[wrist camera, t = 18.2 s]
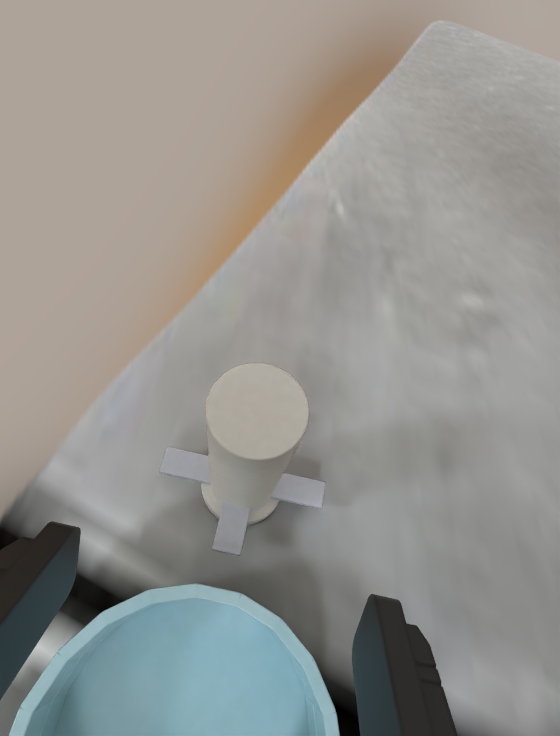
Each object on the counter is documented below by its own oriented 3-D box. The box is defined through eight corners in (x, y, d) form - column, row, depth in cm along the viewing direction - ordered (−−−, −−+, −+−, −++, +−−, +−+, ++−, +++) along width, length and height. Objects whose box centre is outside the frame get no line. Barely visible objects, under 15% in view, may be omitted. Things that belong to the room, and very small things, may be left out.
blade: (327, 436, 31) (392, 342, 19) (306, 574, 26) (374, 559, 15) (186, 404, 30) (166, 289, 19) (143, 538, 26) (84, 494, 15)
